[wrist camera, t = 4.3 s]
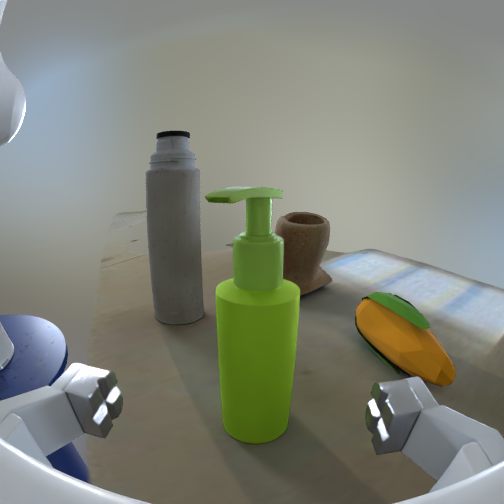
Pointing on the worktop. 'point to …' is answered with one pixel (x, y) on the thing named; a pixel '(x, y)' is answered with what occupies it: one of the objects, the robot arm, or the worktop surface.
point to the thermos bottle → (174, 230)
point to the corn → (403, 338)
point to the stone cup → (304, 249)
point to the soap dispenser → (256, 324)
